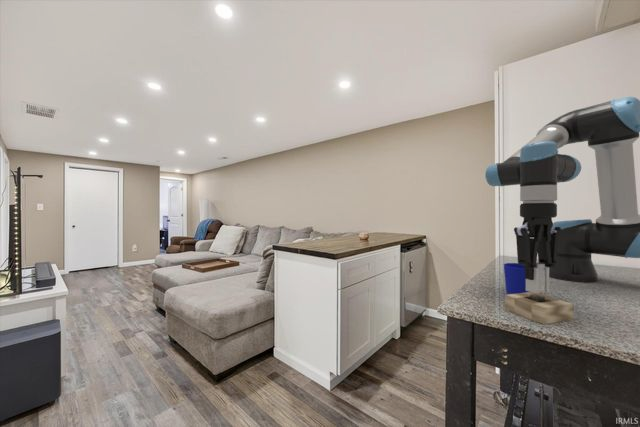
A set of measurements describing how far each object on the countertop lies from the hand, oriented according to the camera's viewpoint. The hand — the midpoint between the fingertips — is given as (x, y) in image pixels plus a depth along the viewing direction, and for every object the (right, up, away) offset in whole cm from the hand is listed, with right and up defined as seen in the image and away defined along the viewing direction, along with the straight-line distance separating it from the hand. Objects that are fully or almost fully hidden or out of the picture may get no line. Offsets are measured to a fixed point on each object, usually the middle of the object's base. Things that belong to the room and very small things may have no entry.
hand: (537, 291), depth 69 cm
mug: (+8, -6, +13) cm, 16 cm away
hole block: (0, -6, 0) cm, 6 cm away
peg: (0, -5, 0) cm, 5 cm away
